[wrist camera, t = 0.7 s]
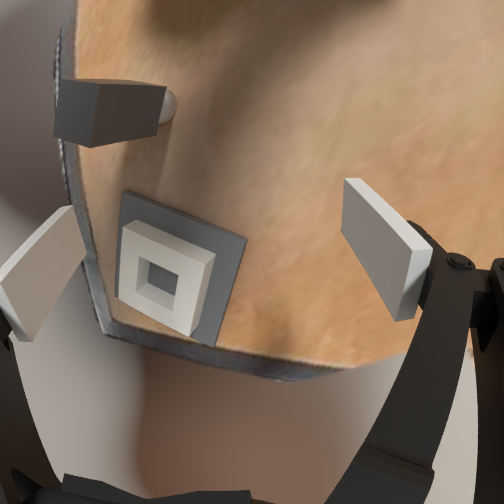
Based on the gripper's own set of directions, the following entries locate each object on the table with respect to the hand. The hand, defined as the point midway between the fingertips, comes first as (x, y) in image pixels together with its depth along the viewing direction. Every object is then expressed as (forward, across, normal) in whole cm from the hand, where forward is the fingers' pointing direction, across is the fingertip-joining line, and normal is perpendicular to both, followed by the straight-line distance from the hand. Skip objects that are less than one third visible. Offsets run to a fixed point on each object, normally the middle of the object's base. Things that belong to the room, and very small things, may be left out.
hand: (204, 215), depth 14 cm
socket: (+23, -9, -18) cm, 31 cm away
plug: (+26, -7, +4) cm, 27 cm away
